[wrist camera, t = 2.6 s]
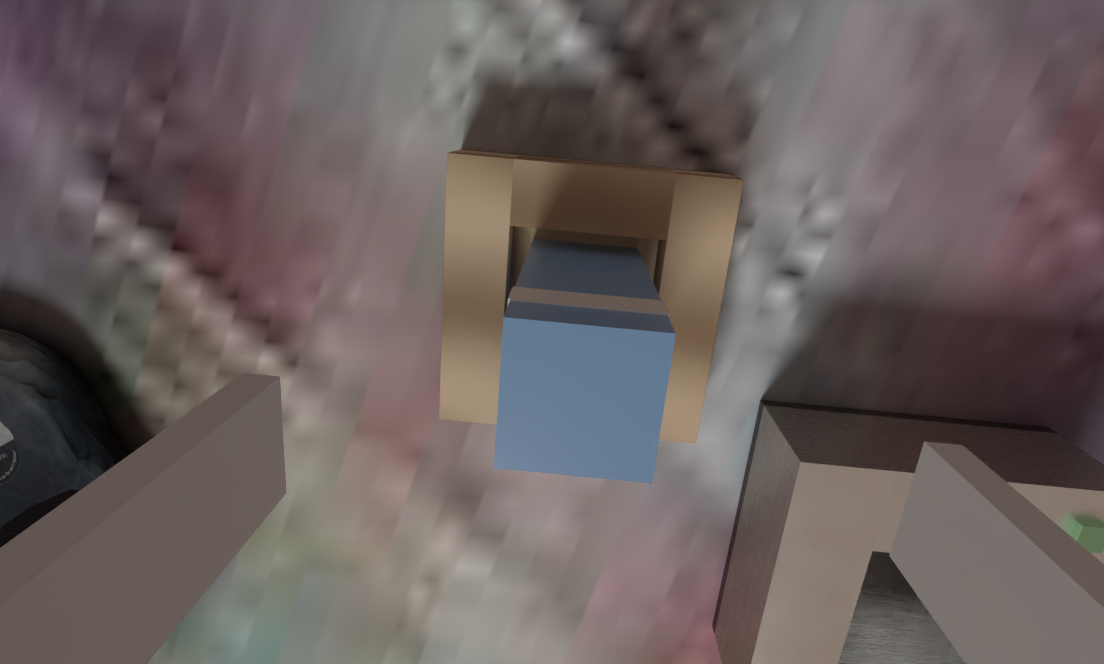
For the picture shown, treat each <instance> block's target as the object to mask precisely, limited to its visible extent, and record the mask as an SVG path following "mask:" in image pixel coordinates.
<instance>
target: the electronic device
mask: <svg viewBox="0 0 1104 664" xmlns="http://www.w3.org/2000/svg"><path fill="white" fill-rule="evenodd" d="M127 456H128V454H127V453H126V452H125V451H124V450H123V449H122V448H120V445H119V443H118V441H117V440H116V438H115V437H114V435H113V434H112V432H111V431H110V430H109V428H108V426H107V424H106V420H105V415H104V413H103V412H102V410H101V408H100V406H99V404H98V401H97V399H96V398H95V397H94V396H93V395H92V394H91V392H90V391H89V389H88V387H87V385H86V383H85V381H84V378H83V377H82V376H81V375H80V373H79V372H78V371H77V370H76V369H75V368H73V367H72V366H71V365H70V364H69V362H68V360H66V359H65V358H63V357H61V356H59V355H57V354H56V353H55V352H54V351H52V350H51V349H50V348H49V347H47V346H45V345H43V344H42V343H40V342H37V341H35V340H33V339H31V338H29V337H27V336H25V335H22V334H19V333H17V332H13V331H9V330H3V329H0V527H2V526H3V525H5V524H6V523H8V522H9V521H10V520H12V519H13V518H15V517H16V516H18V515H19V514H21V513H22V512H24V511H25V510H26V509H28V508H29V507H31V506H33V505H35V504H38V503H40V502H42V501H45V500H47V499H49V498H51V497H54V496H56V495H58V494H61V493H63V492H65V491H68V490H70V489H76V490H81V489H83V488H84V487H85V486H87V485H88V484H90V483H91V482H92V481H94V480H95V479H97V478H98V477H99V476H101V475H102V474H103V473H105V472H106V471H108V470H109V469H110V468H112V467H113V466H115V465H116V464H117V463H119V462H120V461H122V460H123V459H124V458H126V457H127Z"/></svg>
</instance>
